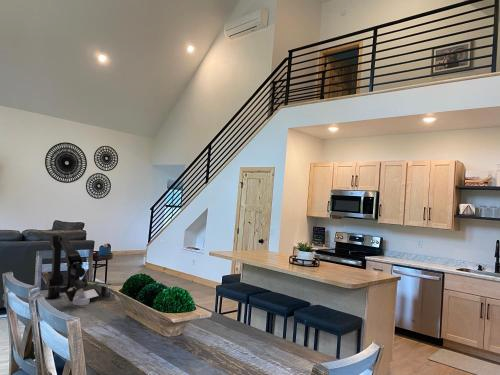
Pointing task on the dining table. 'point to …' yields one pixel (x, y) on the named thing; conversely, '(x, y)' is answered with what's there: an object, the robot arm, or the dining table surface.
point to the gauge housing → (104, 292)
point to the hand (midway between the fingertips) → (71, 301)
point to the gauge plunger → (96, 288)
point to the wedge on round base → (84, 297)
